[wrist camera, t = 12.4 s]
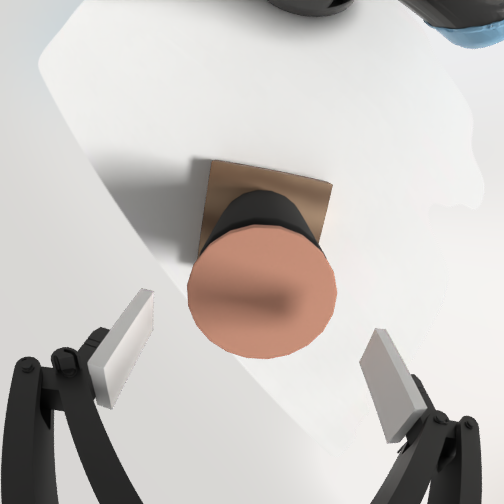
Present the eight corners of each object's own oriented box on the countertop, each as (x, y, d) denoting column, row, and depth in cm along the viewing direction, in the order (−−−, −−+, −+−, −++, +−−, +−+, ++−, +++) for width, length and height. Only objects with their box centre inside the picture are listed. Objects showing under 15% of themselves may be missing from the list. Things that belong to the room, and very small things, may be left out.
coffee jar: (213, 260, 39) (179, 344, 22) (227, 180, 35) (197, 211, 18) (292, 276, 39) (311, 368, 23) (313, 199, 36) (357, 245, 19)
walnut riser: (215, 159, 37) (211, 160, 35) (327, 181, 38) (332, 184, 35) (199, 265, 43) (195, 273, 40) (302, 283, 43) (304, 293, 40)
